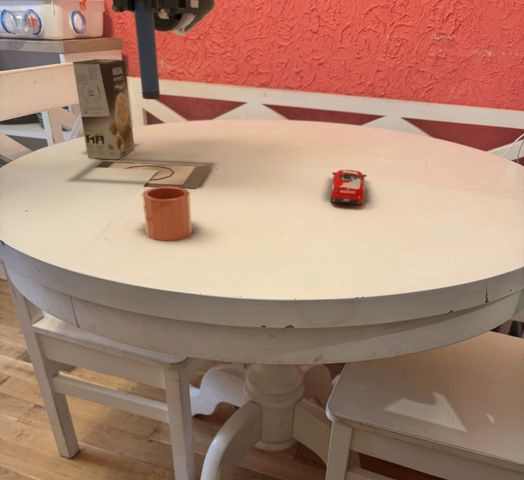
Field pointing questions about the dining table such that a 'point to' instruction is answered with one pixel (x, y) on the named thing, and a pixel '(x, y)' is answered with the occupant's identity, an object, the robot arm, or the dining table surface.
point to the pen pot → (167, 213)
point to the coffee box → (104, 107)
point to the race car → (348, 187)
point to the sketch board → (166, 173)
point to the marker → (146, 50)
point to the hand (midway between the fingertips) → (137, 1)
